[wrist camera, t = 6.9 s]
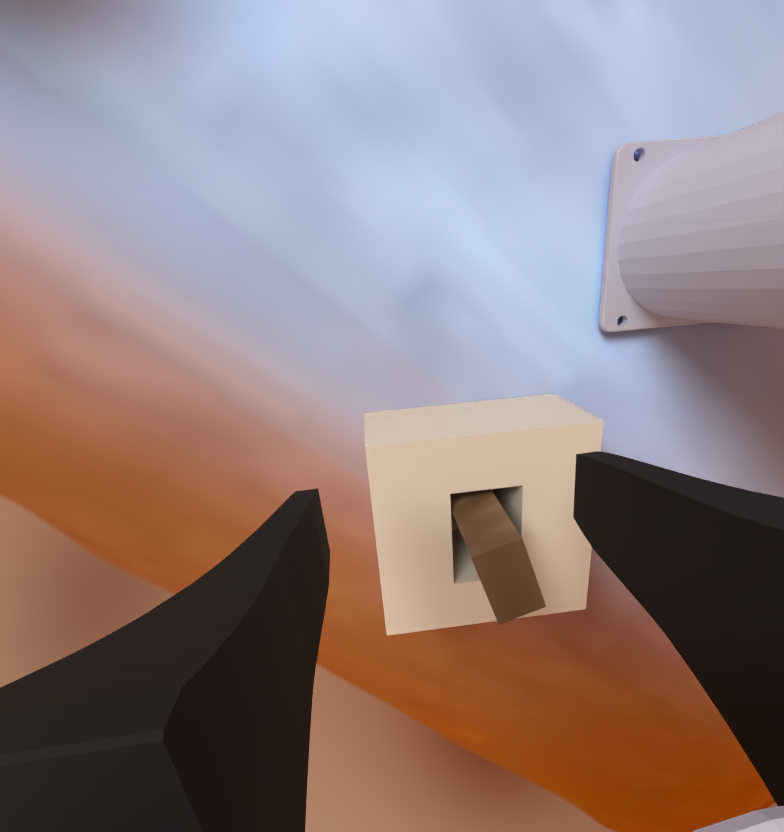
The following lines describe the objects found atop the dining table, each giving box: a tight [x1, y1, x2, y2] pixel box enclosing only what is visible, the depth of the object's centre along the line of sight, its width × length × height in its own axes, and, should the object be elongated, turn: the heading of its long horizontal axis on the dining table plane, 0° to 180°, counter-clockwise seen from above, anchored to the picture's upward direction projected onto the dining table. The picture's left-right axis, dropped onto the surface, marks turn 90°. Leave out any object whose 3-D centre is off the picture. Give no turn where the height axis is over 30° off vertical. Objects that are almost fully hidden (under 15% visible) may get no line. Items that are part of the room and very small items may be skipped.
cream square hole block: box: [364, 393, 604, 635], centre depth 20 cm, size 10×10×4 cm
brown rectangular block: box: [450, 489, 546, 624], centre depth 18 cm, size 2×4×7 cm, turn 22°
